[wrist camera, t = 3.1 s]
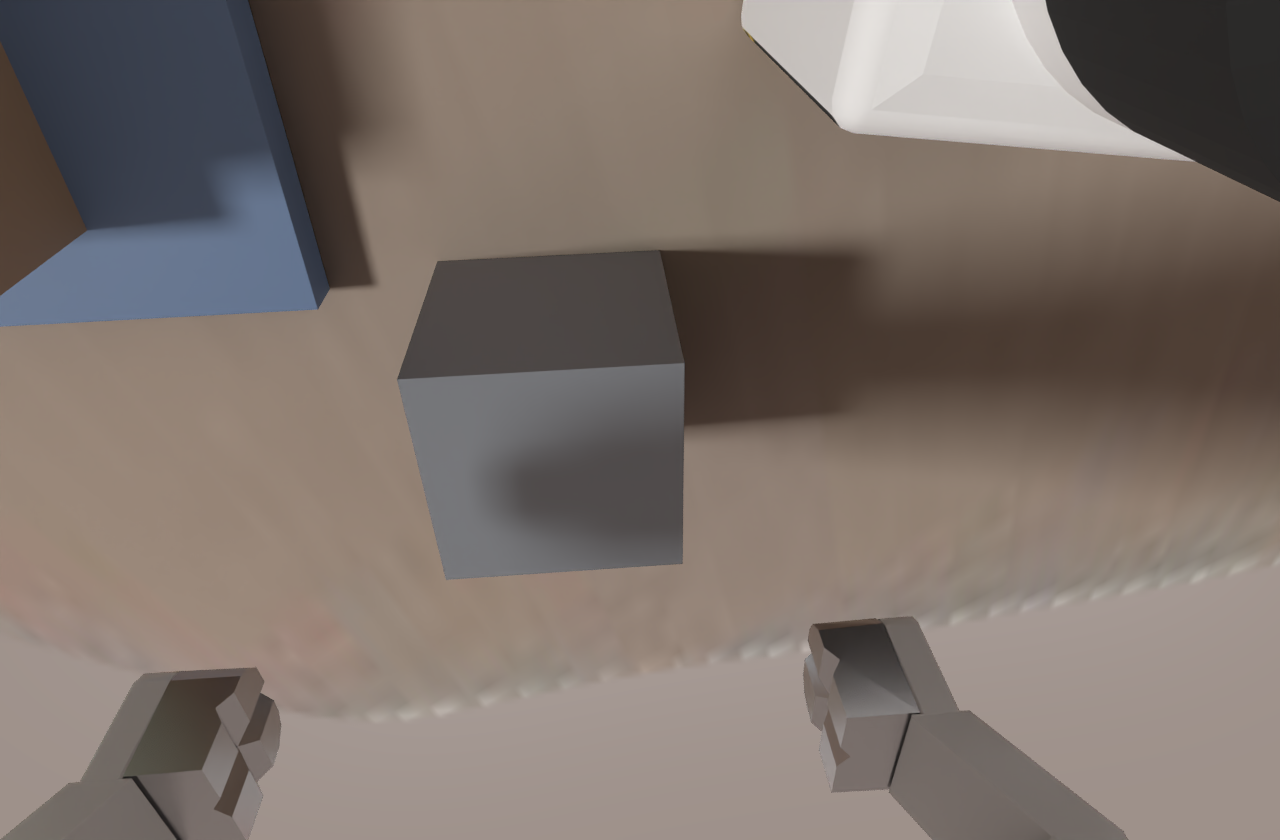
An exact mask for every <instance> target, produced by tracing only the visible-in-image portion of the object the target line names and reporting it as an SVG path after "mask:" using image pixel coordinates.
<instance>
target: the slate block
mask: <svg viewBox="0 0 1280 840" xmlns="http://www.w3.org/2000/svg"><path fill="white" fill-rule="evenodd" d="M684 370H685V363H684V358H683V354H682V349H681V345H680V340H679V336H678V331H677V327H676V322H675V318H674V313H673V309H672V304H671V300H670V295H669V290H668V286H667V281H666V277H665V272H664V268H663V263H662V259H661V254H660V250H655V251H635V252H615V253H596V254H576V255H556V256H536V257H516V258H496V259H476V260H456V261H438V262H437V264H436V267H435V270H434V273H433V276H432V279H431V282H430V285H429V288H428V291H427V294H426V297H425V300H424V302H423V305H422V308H421V311H420V314H419V317H418V320H417V323H416V326H415V329H414V332H413V335H412V338H411V341H410V343H409V346H408V349H407V352H406V355H405V358H404V361H403V364H402V367H401V370H400V373H399V376H398V379H397V381H398V385H399V389H400V393H401V397H402V401H403V405H404V410H405V414H406V418H407V422H408V426H409V430H410V434H411V438H412V442H413V446H414V451H415V455H416V459H417V463H418V467H419V471H420V475H421V479H422V483H423V487H424V491H425V496H426V500H427V504H428V508H429V512H430V516H431V520H432V524H433V528H434V532H435V537H436V541H437V545H438V549H439V553H440V557H441V561H442V565H443V569H444V573H445V578H446V580H449V579H464V578H479V577H494V576H508V575H523V574H538V573H552V572H567V571H582V570H597V569H611V568H626V567H641V566H656V565H670V564H682V560H683V465H684Z"/></svg>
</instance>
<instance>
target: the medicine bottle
mask: <svg viewBox="0 0 1280 840" xmlns="http://www.w3.org/2000/svg"><path fill="white" fill-rule="evenodd" d="M741 20H742V28H743V29H744V31H745V32H746V34H747V35H748V36H749V37H750V38H751V39H752V40H753V41H754V42H755V43H756V44H757V45H758V46H759V47H760V48H761V49H762V50H763V51H764V52H765V53H766V54H767V55H768V56H769V57H770V58H771V59H772V60H773V61H774V62H775V63H776V64H777V65H778V66H779V67H780V68H781V69H782V70H783V71H784V72H785V73H786V74H787V75H788V76H789V77H790V78H791V79H792V80H793V81H794V82H795V83H796V84H797V85H798V86H799V87H800V88H801V89H802V90H803V91H804V92H805V93H806V94H807V95H808V96H809V97H810V98H811V99H812V100H813V101H814V102H815V103H816V104H817V105H818V106H819V107H820V108H821V109H822V110H823V111H824V112H825V113H826V114H827V115H828V116H829V117H830V118H831V119H832V120H833V121H834V122H835V123H836V124H837V125H838V126H839V127H840V128H842V129H844V130H847V131H850V132H852V133H858V134H870V135H882V136H894V137H906V138H918V139H930V140H942V141H954V142H966V143H978V144H990V145H1001V146H1013V147H1025V148H1037V149H1049V150H1061V151H1073V152H1085V153H1097V154H1109V155H1121V156H1133V157H1145V158H1157V159H1169V160H1181V161H1193V162H1198V163H1200V164H1202V165H1204V166H1206V167H1208V168H1210V169H1213V170H1215V171H1217V172H1219V173H1221V174H1223V175H1225V176H1227V177H1229V178H1231V179H1233V180H1235V181H1238V182H1240V183H1242V184H1244V185H1246V186H1248V187H1250V188H1252V189H1254V190H1256V191H1258V192H1260V193H1263V194H1265V195H1267V196H1269V197H1271V198H1273V199H1275V200H1277V201H1279V202H1280V0H744V1H743V7H742V14H741Z"/></svg>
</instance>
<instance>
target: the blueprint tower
mask: <svg viewBox="0 0 1280 840" xmlns="http://www.w3.org/2000/svg"><path fill="white" fill-rule="evenodd" d="M329 289H330V288H329V285H328V281H327V278H326V274H325V271H324V267H323V264H322V260H321V256H320V253H319V249H318V246H317V242H316V239H315V235H314V232H313V228H312V225H311V221H310V218H309V214H308V211H307V207H306V203H305V200H304V196H303V193H302V189H301V186H300V182H299V179H298V175H297V172H296V168H295V165H294V161H293V158H292V154H291V150H290V147H289V143H288V140H287V136H286V133H285V129H284V126H283V122H282V119H281V115H280V112H279V108H278V105H277V101H276V97H275V94H274V90H273V87H272V83H271V80H270V76H269V73H268V69H267V66H266V62H265V59H264V55H263V52H262V48H261V44H260V41H259V37H258V34H257V30H256V27H255V23H254V20H253V16H252V13H251V9H250V6H249V2H248V0H0V327H1V326H19V325H38V324H56V323H75V322H93V321H112V320H130V319H149V318H168V317H186V316H205V315H223V314H242V313H260V312H279V311H297V310H316V309H318V308H319V306H320V305H321V303H322V301H323V300H324V298H325V296H326V294H327V293H328V291H329Z"/></svg>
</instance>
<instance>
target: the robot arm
mask: <svg viewBox="0 0 1280 840" xmlns="http://www.w3.org/2000/svg"><path fill="white" fill-rule="evenodd" d="M808 642H809V646H810V649H811V654H810V655H809V656H808V657H807V658H806V659H805V664H804V673H803V676H804V693H805V698H806V703H807V708H808V712H809V715H810V719H811V722H812V723H813V724H814V725H815V726H816V727H817V728H818V729H819V730H821V731H822V736H821V741H820V748H819V751H820V755H821V758H822V762H823V765H824V769H825V772H826V775H827V779H828V782H829V786H830V789H831V792H848V791H866V790H883V789H890V790H889V793H890V794H891V795H892V796H893V797H894V798H895V799H896V801H897V802H898V803H899V804H900V805H901V806H902V807H903V808H904V809H905V810H906V811H907V813H908V814H909V815H910V816H911V817H912V818H913V819H914V820H915V821H916V822H917V823H918V825H920V827H921V828H922V829H923V830H924V831H925V832H926V833H927V834H928V835H929V837H930V838H931V839H932V840H1128V838H1127V837H1126V835H1125V833H1124V831H1122V830H1121V829H1120V828H1119V827H1118V826H1116V825H1115V824H1114V823H1112V822H1111V821H1110V820H1108V819H1107V818H1106V817H1105V816H1103V815H1102V814H1101V813H1099V812H1098V811H1097V810H1096V809H1094V808H1093V807H1092V806H1091V805H1089V804H1088V803H1087V802H1086V801H1084V800H1083V799H1082V798H1081V797H1079V796H1078V795H1077V794H1075V793H1074V792H1073V791H1072V790H1070V789H1069V788H1068V787H1066V786H1065V785H1064V784H1063V783H1061V782H1060V781H1059V780H1058V779H1056V778H1055V777H1054V776H1052V775H1051V774H1050V773H1049V772H1047V771H1046V770H1045V769H1043V768H1042V767H1041V766H1040V765H1038V764H1037V763H1036V762H1034V761H1033V760H1032V759H1031V758H1030V757H1028V756H1027V755H1026V754H1024V753H1023V752H1022V751H1020V750H1019V749H1018V748H1017V747H1015V746H1014V745H1013V744H1012V743H1010V742H1009V741H1008V740H1007V739H1005V738H1004V737H1003V736H1001V735H1000V734H999V733H997V732H996V731H995V730H994V729H992V728H991V727H990V726H989V725H987V724H986V723H985V722H984V721H982V720H981V719H980V718H978V717H977V716H976V715H975V714H973V713H972V712H971V711H959V709H958V707H957V705H956V702H955V700H954V698H953V696H952V694H951V692H950V690H949V687H948V685H947V683H946V681H945V679H944V677H943V675H942V673H941V670H940V668H939V666H938V664H937V662H936V660H935V658H934V656H933V653H932V651H931V649H930V647H929V645H928V643H927V640H926V638H925V636H924V634H923V632H922V630H921V628H920V625H919V623H918V622H917V621H916V620H915V619H914V618H913V617H896V618H884V619H876V618H874V619H862V620H851V621H840V622H829V623H818V624H812V626H811V628H810V630H809V636H808ZM263 684H264V680H263V678H262V676H261V675H260V673H259V671H258V669H257V668H236V669H216V670H196V671H176V672H161V673H147V674H143V675H142V676H141V677H140V678H139V679H138V680H137V681H136V682H135V683H134V684H133V685H132V687H131V689H130V690H129V692H128V694H127V696H126V698H125V700H124V702H123V703H122V705H121V707H120V709H119V711H118V713H117V715H116V717H115V718H114V720H113V722H112V724H111V725H110V727H109V729H108V731H107V733H106V735H105V736H104V738H103V740H102V742H101V744H100V746H99V747H98V750H97V751H96V753H95V755H94V757H93V759H92V760H91V762H90V764H89V766H88V768H87V770H86V772H85V773H84V775H83V777H82V779H81V781H80V782H75V783H68V784H67V785H66V786H65V787H63V788H62V789H61V790H60V791H59V792H58V793H56V794H55V795H54V796H53V797H51V798H50V799H49V800H48V801H46V802H45V803H44V804H43V805H42V806H40V807H39V808H38V809H37V810H36V811H34V812H33V813H32V814H31V815H29V816H28V817H27V818H26V819H25V820H23V821H22V822H21V823H20V824H19V825H17V826H16V827H15V828H14V829H12V830H11V831H10V832H9V833H8V834H6V835H5V836H4V837H3V838H1V839H0V840H248V839H249V836H250V833H251V830H252V827H253V824H254V821H255V818H256V815H257V813H258V810H259V806H260V804H261V801H262V798H263V794H262V792H261V789H260V787H259V785H258V783H257V781H258V780H259V779H260V778H261V777H262V776H263V775H264V774H265V773H266V772H267V771H268V770H269V769H270V768H271V767H272V766H273V764H274V761H275V758H276V755H277V752H278V749H279V743H280V731H281V722H280V716H279V711H278V708H277V706H276V704H275V702H274V700H272V699H270V698H269V697H267V696H265V695H263V694H262V693H260V692H261V689H262V687H263Z"/></svg>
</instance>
